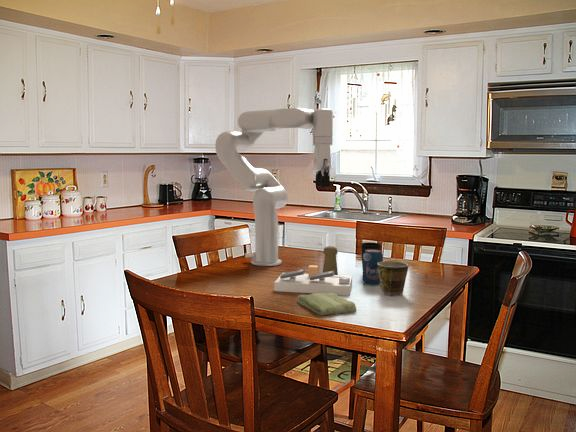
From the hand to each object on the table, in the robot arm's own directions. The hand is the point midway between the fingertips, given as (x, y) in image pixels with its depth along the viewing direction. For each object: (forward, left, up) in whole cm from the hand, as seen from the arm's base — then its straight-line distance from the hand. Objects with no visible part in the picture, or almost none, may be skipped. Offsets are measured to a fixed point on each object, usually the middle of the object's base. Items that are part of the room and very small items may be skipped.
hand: (322, 186), depth 213 cm
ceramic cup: (+26, -32, -33) cm, 53 cm away
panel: (+1, -28, -33) cm, 44 cm away
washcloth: (+7, -50, -34) cm, 61 cm away
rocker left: (-6, -32, -28) cm, 43 cm away
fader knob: (0, -24, -30) cm, 38 cm away
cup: (+19, -5, -33) cm, 39 cm away
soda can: (+20, -18, -33) cm, 43 cm away
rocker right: (+4, -32, -28) cm, 42 cm away
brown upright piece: (+4, -8, -33) cm, 35 cm away
